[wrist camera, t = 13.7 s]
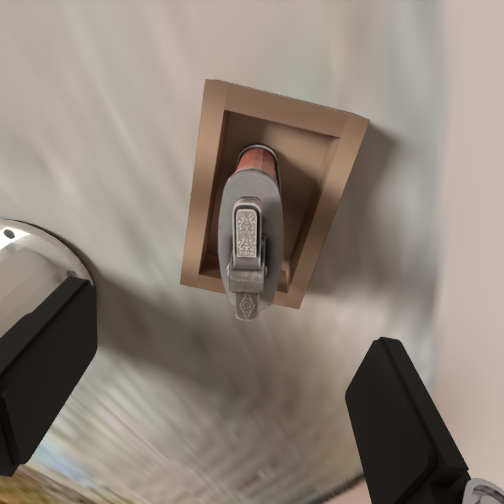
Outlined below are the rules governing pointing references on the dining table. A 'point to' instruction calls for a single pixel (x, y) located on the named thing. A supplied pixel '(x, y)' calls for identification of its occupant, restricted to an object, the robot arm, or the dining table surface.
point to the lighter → (251, 232)
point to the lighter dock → (290, 169)
